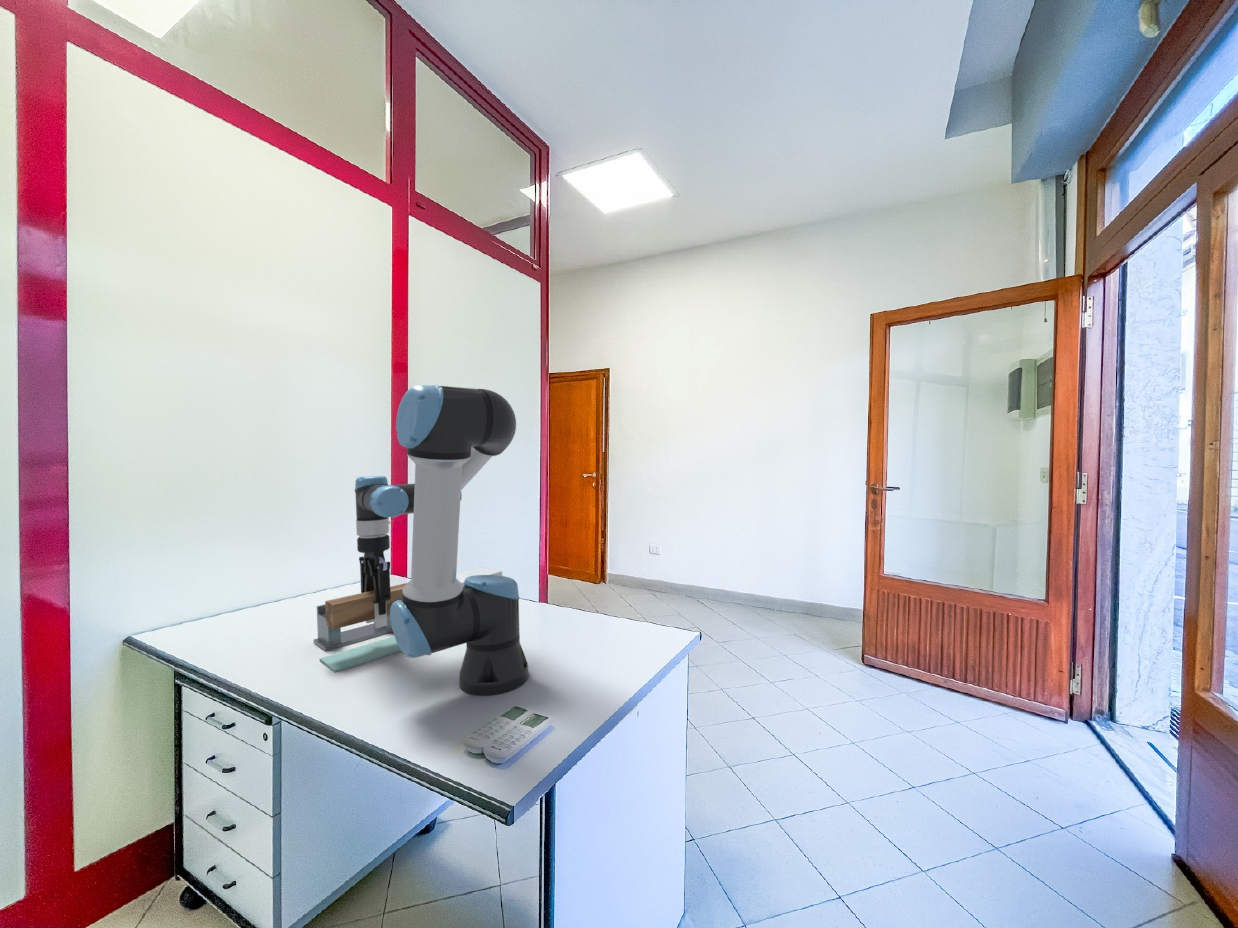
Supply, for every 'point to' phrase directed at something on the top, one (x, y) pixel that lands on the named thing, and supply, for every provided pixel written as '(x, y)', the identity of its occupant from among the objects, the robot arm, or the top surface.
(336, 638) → the standards
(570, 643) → the top surface
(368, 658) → the mat
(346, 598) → the rail
